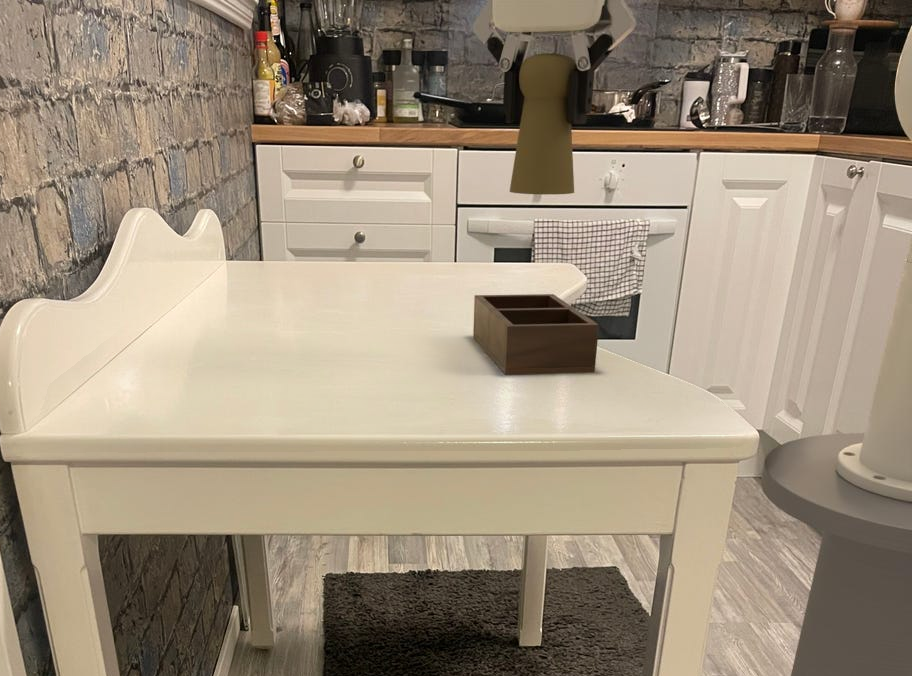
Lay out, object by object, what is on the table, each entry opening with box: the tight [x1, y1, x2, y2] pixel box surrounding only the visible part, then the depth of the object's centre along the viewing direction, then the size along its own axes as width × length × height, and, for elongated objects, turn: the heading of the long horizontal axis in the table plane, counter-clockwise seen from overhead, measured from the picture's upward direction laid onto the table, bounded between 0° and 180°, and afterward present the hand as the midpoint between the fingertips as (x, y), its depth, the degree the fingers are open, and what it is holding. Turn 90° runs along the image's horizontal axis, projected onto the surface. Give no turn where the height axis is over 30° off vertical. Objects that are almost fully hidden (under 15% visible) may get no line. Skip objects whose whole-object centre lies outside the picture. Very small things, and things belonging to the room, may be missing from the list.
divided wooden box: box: [472, 293, 600, 376], centre depth 100 cm, size 17×9×5 cm, turn 8°
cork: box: [509, 52, 576, 195], centre depth 86 cm, size 6×6×11 cm
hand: (545, 120), depth 86 cm, fingers closed on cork, 5 cm apart
